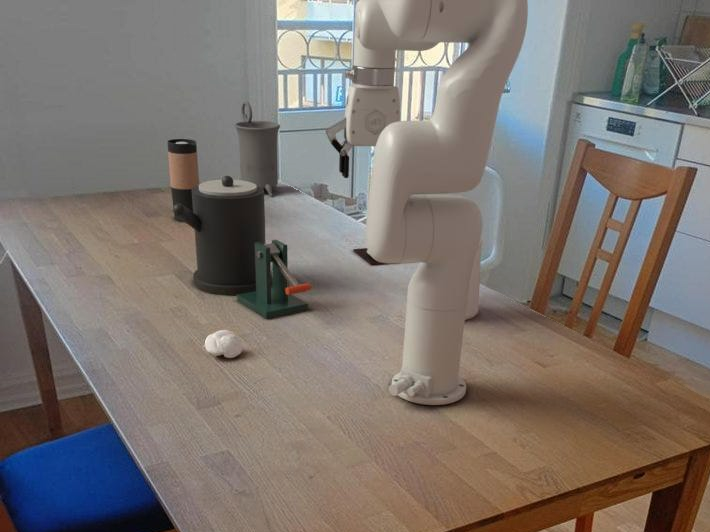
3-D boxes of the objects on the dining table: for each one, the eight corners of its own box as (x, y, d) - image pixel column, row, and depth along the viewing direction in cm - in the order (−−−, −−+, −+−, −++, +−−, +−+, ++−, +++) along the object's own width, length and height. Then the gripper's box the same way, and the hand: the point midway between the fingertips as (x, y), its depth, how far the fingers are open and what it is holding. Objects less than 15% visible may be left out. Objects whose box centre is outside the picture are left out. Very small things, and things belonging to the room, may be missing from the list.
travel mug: (170, 216, 220) (163, 139, 209) (197, 214, 222) (192, 138, 212) (177, 223, 214) (170, 144, 203) (204, 221, 217) (199, 143, 206)
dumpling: (232, 347, 145) (236, 328, 143) (243, 362, 142) (248, 343, 140) (197, 348, 141) (201, 328, 139) (208, 363, 138) (212, 344, 136)
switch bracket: (308, 309, 162) (308, 248, 156) (266, 319, 157) (264, 255, 150) (277, 292, 170) (276, 233, 163) (237, 300, 165) (234, 239, 158)
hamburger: (416, 261, 193) (418, 239, 190) (371, 265, 189) (372, 242, 186) (396, 247, 202) (398, 225, 200) (353, 250, 199) (354, 228, 196)
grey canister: (293, 194, 246) (292, 107, 233) (250, 199, 239) (247, 109, 226) (265, 182, 260) (263, 99, 246) (224, 186, 253) (220, 100, 239)
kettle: (285, 286, 174) (283, 179, 162) (198, 303, 163) (190, 190, 151) (240, 262, 187) (236, 162, 175) (157, 276, 176) (147, 170, 164)
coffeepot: (417, 332, 154) (425, 236, 144) (433, 291, 175) (440, 204, 165) (472, 338, 153) (484, 241, 143) (481, 296, 173) (492, 209, 163)
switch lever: (309, 293, 156) (312, 284, 154) (287, 298, 153) (290, 289, 151) (277, 251, 161) (280, 241, 159) (255, 255, 158) (257, 245, 156)
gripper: (331, 79, 138) (329, 181, 147) (425, 81, 142) (417, 180, 151) (323, 74, 144) (321, 172, 153) (413, 76, 148) (406, 171, 157)
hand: (369, 176), depth 152 cm, fingers open, 9 cm apart
